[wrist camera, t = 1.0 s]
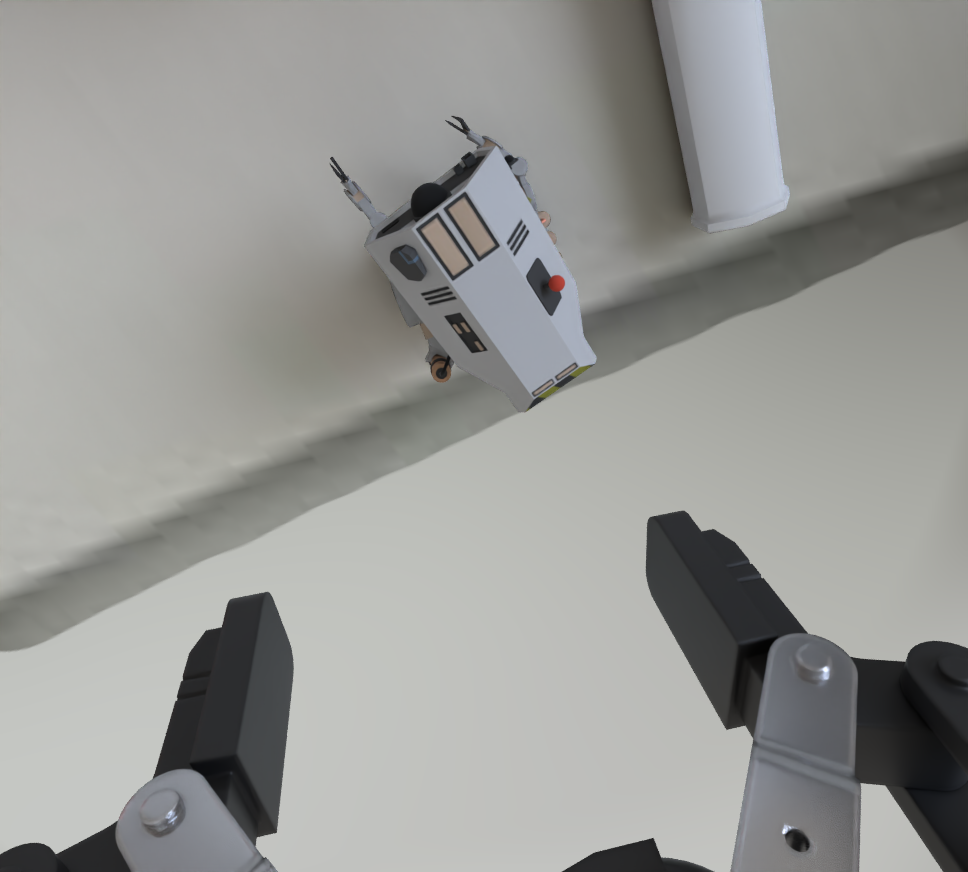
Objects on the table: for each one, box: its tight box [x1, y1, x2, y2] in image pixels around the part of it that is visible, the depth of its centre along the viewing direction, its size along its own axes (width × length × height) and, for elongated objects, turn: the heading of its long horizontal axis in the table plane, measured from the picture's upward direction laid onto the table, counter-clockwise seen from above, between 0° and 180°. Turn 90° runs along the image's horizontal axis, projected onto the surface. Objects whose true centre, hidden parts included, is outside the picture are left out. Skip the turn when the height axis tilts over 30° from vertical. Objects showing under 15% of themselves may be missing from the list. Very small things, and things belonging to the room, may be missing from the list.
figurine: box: [330, 116, 596, 412], centre depth 30 cm, size 9×12×15 cm
